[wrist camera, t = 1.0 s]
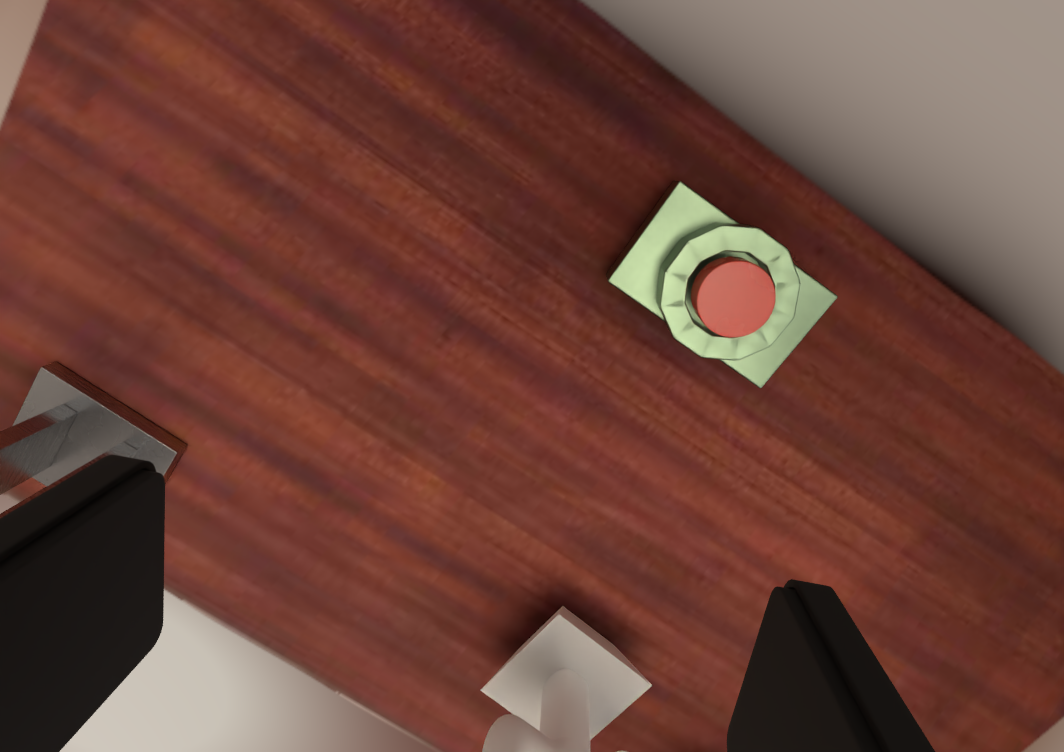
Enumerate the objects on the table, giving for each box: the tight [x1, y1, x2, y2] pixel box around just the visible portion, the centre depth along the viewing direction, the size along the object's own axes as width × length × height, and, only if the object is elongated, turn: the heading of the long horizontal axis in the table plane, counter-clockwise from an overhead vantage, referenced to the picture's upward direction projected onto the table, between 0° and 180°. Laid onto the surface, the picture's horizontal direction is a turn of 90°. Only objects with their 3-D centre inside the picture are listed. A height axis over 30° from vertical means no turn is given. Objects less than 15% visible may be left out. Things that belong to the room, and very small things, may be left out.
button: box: [691, 256, 776, 338], centre depth 32 cm, size 4×4×2 cm
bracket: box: [0, 362, 187, 518], centre depth 35 cm, size 7×9×13 cm
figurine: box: [481, 606, 652, 752], centre depth 36 cm, size 7×9×15 cm
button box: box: [606, 181, 838, 388], centre depth 34 cm, size 10×6×4 cm, turn 56°
